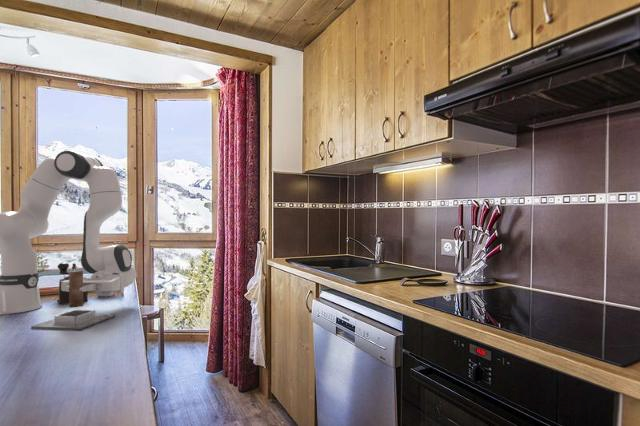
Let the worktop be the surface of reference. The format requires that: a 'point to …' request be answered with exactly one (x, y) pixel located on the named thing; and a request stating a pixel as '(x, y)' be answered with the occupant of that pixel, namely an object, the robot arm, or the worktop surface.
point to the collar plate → (74, 321)
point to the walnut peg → (75, 289)
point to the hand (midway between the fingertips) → (74, 289)
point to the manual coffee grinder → (63, 270)
